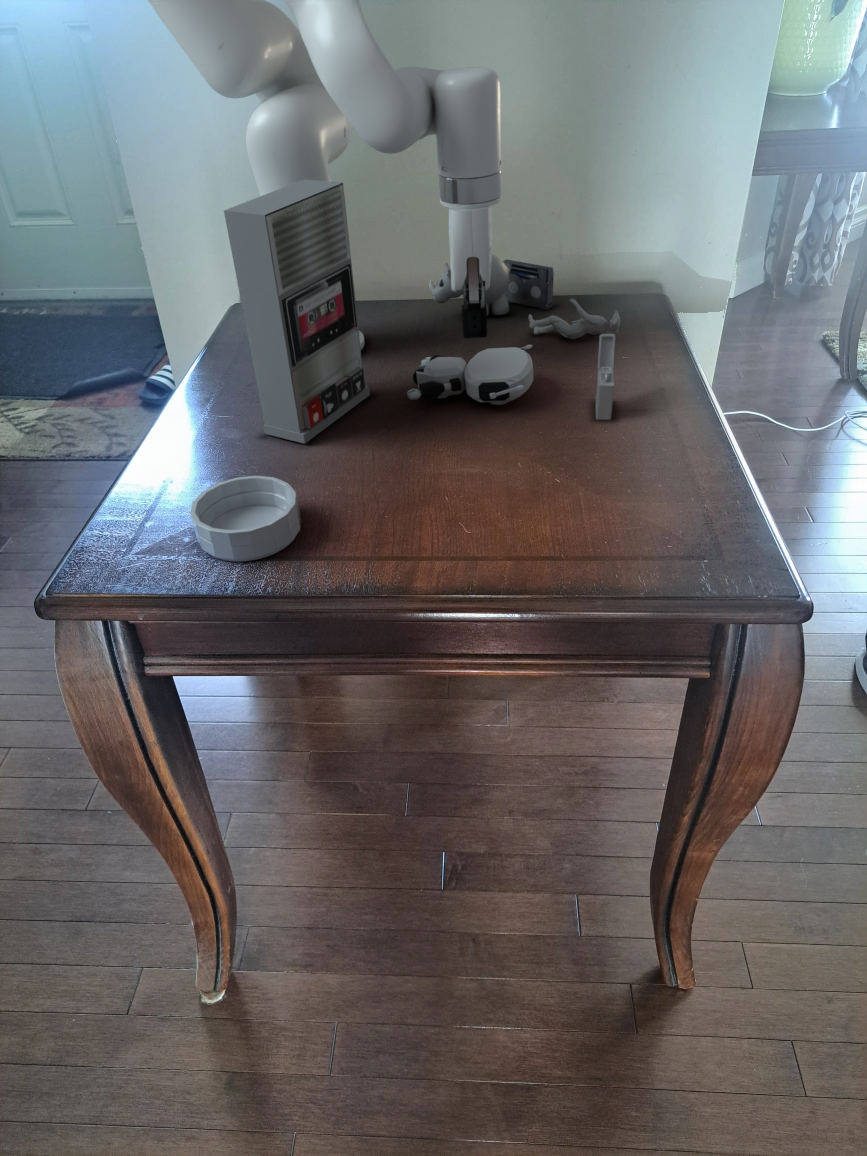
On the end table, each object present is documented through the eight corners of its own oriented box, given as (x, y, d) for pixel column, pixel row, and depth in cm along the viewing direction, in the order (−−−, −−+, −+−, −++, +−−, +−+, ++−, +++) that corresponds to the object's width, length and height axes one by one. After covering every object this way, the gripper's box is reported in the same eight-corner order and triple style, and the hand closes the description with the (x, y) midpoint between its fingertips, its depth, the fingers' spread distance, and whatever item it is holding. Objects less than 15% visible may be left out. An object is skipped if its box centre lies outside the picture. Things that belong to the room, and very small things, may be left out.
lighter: (611, 419, 97) (617, 354, 92) (595, 419, 97) (601, 354, 92) (609, 393, 102) (615, 330, 97) (595, 392, 102) (600, 329, 97)
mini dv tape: (552, 306, 126) (553, 266, 122) (546, 310, 125) (548, 269, 121) (507, 297, 130) (507, 258, 127) (502, 300, 129) (502, 260, 126)
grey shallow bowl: (177, 539, 81) (169, 509, 79) (254, 494, 87) (248, 465, 85) (245, 576, 76) (237, 545, 74) (322, 525, 82) (317, 495, 80)
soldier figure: (538, 331, 121) (620, 307, 117) (543, 362, 120) (626, 339, 116) (524, 308, 114) (610, 282, 110) (529, 341, 113) (616, 315, 109)
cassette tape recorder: (307, 446, 95) (270, 216, 80) (265, 435, 97) (221, 210, 82) (371, 397, 104) (350, 182, 89) (332, 388, 107) (304, 178, 91)
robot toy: (406, 420, 101) (530, 416, 97) (401, 386, 98) (528, 380, 95) (424, 377, 110) (538, 372, 107) (420, 345, 107) (536, 339, 104)
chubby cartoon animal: (427, 308, 128) (424, 252, 123) (504, 301, 129) (504, 245, 124) (433, 325, 122) (430, 267, 117) (513, 318, 123) (514, 259, 118)
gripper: (440, 176, 106) (447, 316, 117) (437, 206, 94) (446, 359, 105) (499, 172, 105) (501, 314, 117) (504, 202, 94) (505, 356, 105)
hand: (475, 335), depth 111 cm, fingers closed
